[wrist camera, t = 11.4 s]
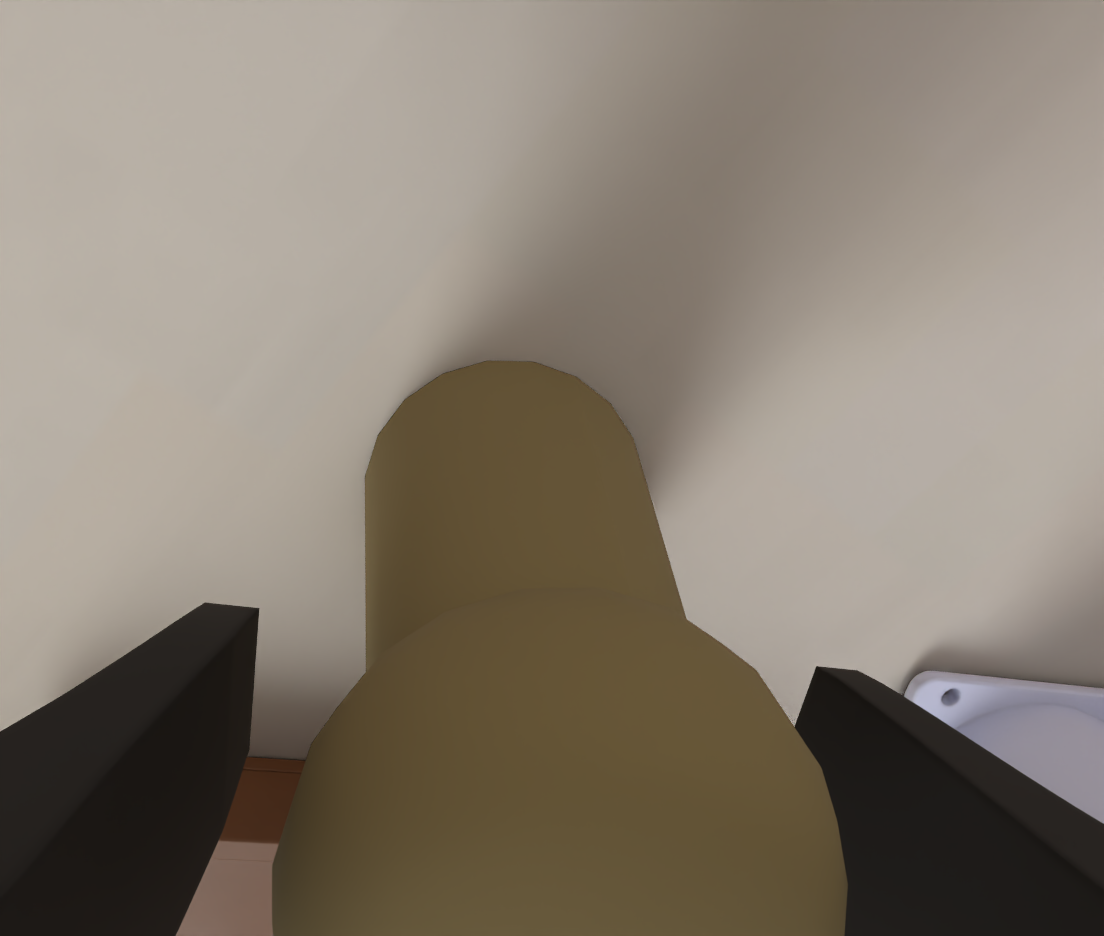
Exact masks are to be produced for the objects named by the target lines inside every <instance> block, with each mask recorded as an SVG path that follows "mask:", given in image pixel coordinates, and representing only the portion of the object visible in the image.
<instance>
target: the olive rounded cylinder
mask: <svg viewBox="0 0 1104 936" xmlns="http://www.w3.org/2000/svg"><path fill="white" fill-rule="evenodd" d="M365 573H366V673H365V674H364V675H363V676H362V678H361V679H360V680H359V681H358V683H357V684H356V685H355V686H354V688H353V689H352V690H351V691H350V692H349V694H348V695H347V696H346V697H345V699H344V700H343V701H342V702H341V704H340V705H339V706H338V707H337V709H336V710H335V711H334V713H333V714H332V716H331V717H330V718H329V720H328V721H327V723H326V724H325V725H324V727H323V728H322V730H321V731H320V732H319V734H318V735H317V737H316V738H315V739H314V741H313V742H312V744H311V746H310V749H309V752H308V755H307V758H306V761H305V764H304V767H303V770H302V773H301V776H300V779H299V783H298V786H297V789H296V792H295V795H294V798H293V801H292V804H291V807H290V810H289V813H288V816H287V819H286V823H285V826H284V829H283V832H282V835H281V839H280V842H279V845H278V848H277V851H276V855H275V858H274V861H273V864H272V929H273V936H844V935H845V920H846V905H847V890H848V882H847V876H846V870H845V864H844V858H843V852H842V846H841V840H840V834H839V828H838V822H837V818H836V815H835V812H834V808H833V805H832V801H831V798H830V795H829V791H828V788H827V785H826V781H825V778H824V775H823V771H822V768H821V766H820V765H819V763H818V762H817V760H816V759H815V757H814V756H813V754H812V753H811V751H810V750H809V748H808V747H807V745H806V744H805V742H804V741H803V739H802V738H801V736H800V735H799V733H798V732H797V730H796V729H795V727H794V726H793V724H792V723H791V721H790V720H789V718H788V717H787V715H786V714H785V712H784V711H783V709H782V708H781V706H780V705H779V703H778V702H777V700H776V699H775V697H774V696H773V694H772V693H771V691H770V690H769V688H768V687H767V685H766V684H765V682H764V681H763V680H762V678H761V677H760V675H759V674H758V672H757V671H756V670H755V669H754V668H753V667H752V666H750V665H749V664H748V663H746V662H745V661H744V660H742V659H741V658H740V657H739V656H737V655H736V654H735V653H733V652H732V651H731V650H730V649H728V648H727V647H726V646H724V645H723V644H722V643H720V642H719V641H717V640H716V639H714V638H713V637H712V636H710V635H709V634H707V633H706V632H704V631H703V630H701V629H700V628H698V627H697V626H696V625H694V624H693V623H691V622H690V621H688V620H687V619H686V616H685V613H684V609H683V606H682V602H681V599H680V596H679V592H678V589H677V585H676V582H675V579H674V575H673V572H672V568H671V565H670V562H669V558H668V555H667V551H666V548H665V545H664V541H663V538H662V534H661V531H660V528H659V524H658V521H657V517H656V514H655V511H654V507H653V504H652V500H651V497H650V494H649V490H648V487H647V483H646V480H645V477H644V473H643V470H642V466H641V463H640V460H639V456H638V453H637V449H636V446H635V443H634V439H633V437H632V436H631V434H630V433H629V431H628V430H627V428H626V427H625V425H624V423H623V422H622V420H621V419H620V417H619V416H618V414H617V413H616V411H615V410H614V408H613V407H612V405H611V404H610V403H609V402H608V401H607V400H605V399H604V398H603V397H601V396H600V395H599V394H598V393H596V392H595V391H594V390H592V389H591V388H590V387H589V386H587V385H586V384H585V383H583V382H582V381H581V380H580V379H578V378H577V377H575V376H572V375H569V374H567V373H564V372H561V371H558V370H555V369H552V368H550V367H547V366H544V365H541V364H538V363H535V362H517V361H485V362H481V363H478V364H475V365H471V366H468V367H464V368H461V369H458V370H454V371H451V372H447V373H444V374H442V375H440V376H439V377H437V378H436V379H434V380H433V381H431V382H430V383H429V384H427V385H426V386H424V387H423V388H421V389H420V390H418V391H417V392H415V393H414V394H413V395H411V396H410V397H408V398H407V399H405V400H404V401H403V403H402V404H401V405H400V407H399V408H398V409H397V411H396V412H395V413H394V415H393V416H392V417H391V419H390V420H389V421H388V423H387V424H386V425H385V427H384V428H383V429H382V431H381V432H380V433H379V435H378V437H377V440H376V443H375V446H374V450H373V453H372V456H371V459H370V462H369V465H368V469H367V472H366V475H365Z"/></svg>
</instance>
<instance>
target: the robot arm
mask: <svg viewBox="0 0 1104 936" xmlns="http://www.w3.org/2000/svg"><path fill="white" fill-rule="evenodd" d="M258 618H259V608H251V607H242V606H232V605H222V604H213V603H204V604H202V605H200V606H199V607H197V608H196V609H194V610H192V611H191V612H189V613H188V614H186V615H185V616H183V617H182V618H180V619H179V620H177V621H176V622H174V623H173V624H171V625H170V626H168V627H167V628H165V629H164V630H162V631H161V632H159V633H158V634H156V635H155V636H153V637H152V638H150V639H149V640H147V641H146V642H144V643H143V644H141V645H140V646H138V647H137V648H135V649H134V650H132V651H131V652H129V653H128V654H126V655H124V656H123V657H121V658H120V659H118V660H117V661H115V662H114V663H112V664H111V665H109V666H107V667H106V668H104V669H103V670H101V671H100V672H98V673H97V674H95V675H93V676H92V677H90V678H89V679H87V680H86V681H84V682H83V683H81V684H79V685H78V686H76V687H75V688H73V689H72V690H70V691H69V692H67V693H65V694H64V695H62V696H60V697H59V698H57V699H55V700H54V701H52V702H50V703H49V704H47V705H45V706H43V707H42V708H40V709H38V710H37V711H35V712H33V713H31V714H30V715H28V716H26V717H25V718H23V719H21V720H19V721H18V722H16V723H14V724H13V725H11V726H9V727H7V728H6V729H4V730H2V731H1V732H0V936H176V934H177V932H178V930H179V928H180V925H181V923H182V921H183V919H184V917H185V914H186V912H187V910H188V908H189V906H190V903H191V901H192V899H193V897H194V895H195V892H196V890H197V888H198V886H199V883H200V881H201V879H202V877H203V875H204V872H205V870H206V868H207V866H208V863H209V861H210V859H211V857H212V855H213V852H214V850H215V848H216V846H217V843H218V841H219V839H220V836H221V834H222V832H223V829H224V826H225V823H226V820H227V817H228V814H229V811H230V808H231V805H232V802H233V799H234V796H235V793H236V790H237V786H238V783H239V780H240V777H241V774H242V771H243V767H244V764H245V761H246V758H247V755H248V752H249V746H250V731H251V717H252V703H253V689H254V675H255V661H256V646H257V632H258ZM949 689H950V690H949ZM948 690H949V691H948ZM946 691H948V693H946V694H944V693H945V692H946ZM943 694H944V695H943ZM795 729H796V730H797V732H798V733H799V735H800V736H801V738H802V739H803V741H804V742H805V744H806V745H807V747H808V748H809V750H810V751H811V753H812V754H813V756H814V757H815V759H816V760H817V762H818V763H819V765H820V766H821V768H822V771H823V775H824V778H825V781H826V785H827V788H828V791H829V795H830V798H831V801H832V805H833V808H834V812H835V815H836V818H837V822H838V828H839V834H840V840H841V846H842V852H843V858H844V864H845V870H846V876H847V882H848V890H847V905H846V920H845V935H844V936H1104V688H1095V687H1085V686H1076V685H1066V684H1057V683H1047V682H1037V681H1028V680H1018V679H1009V678H999V677H989V676H980V675H970V674H961V673H951V672H941V671H924V672H922V673H920V674H917V675H916V676H915V677H914V678H913V679H912V680H911V682H910V683H909V685H908V687H907V690H906V692H905V694H904V696H902V695H901V694H899V693H897V692H896V691H894V690H892V689H891V688H889V687H887V686H886V685H884V684H882V683H880V682H878V681H877V680H875V679H873V678H871V677H869V676H867V675H865V674H863V673H861V672H859V671H857V670H847V669H837V668H828V667H818V666H816V669H815V672H814V675H813V677H812V680H811V683H810V686H809V688H808V691H807V694H806V697H805V700H804V702H803V705H802V708H801V711H800V713H799V716H798V719H797V722H796V725H795Z"/></svg>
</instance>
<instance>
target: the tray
mask: <svg viewBox="0 0 1104 936" xmlns="http://www.w3.org/2000/svg"><path fill="white" fill-rule="evenodd" d="M304 764H305V761H299V760H285V759H270V758H255V757H247V758H246V761H245V764H244V767H243V771H242V774H241V777H240V780H239V783H238V786H237V790H236V793H235V796H234V799H233V802H232V805H231V808H230V811H229V814H228V817H227V820H226V823H225V826H224V829H223V832H222V834H221V836H220V839H219V841H218V843H217V846H216V848H215V850H214V852H213V855H212V857H211V859H210V861H209V863H208V866H207V868H206V870H205V872H204V875H203V877H202V879H201V881H200V883H199V886H198V888H197V890H196V892H195V895H194V897H193V899H192V901H191V903H190V906H189V908H188V910H187V912H186V914H185V917H184V919H183V921H182V923H181V925H180V928H179V930H178V932H177V934H176V936H273V929H272V864H273V861H274V858H275V855H276V851H277V848H278V845H279V842H280V839H281V835H282V832H283V829H284V826H285V823H286V819H287V816H288V813H289V810H290V807H291V804H292V801H293V798H294V795H295V792H296V789H297V786H298V783H299V779H300V776H301V773H302V770H303V767H304Z"/></svg>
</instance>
